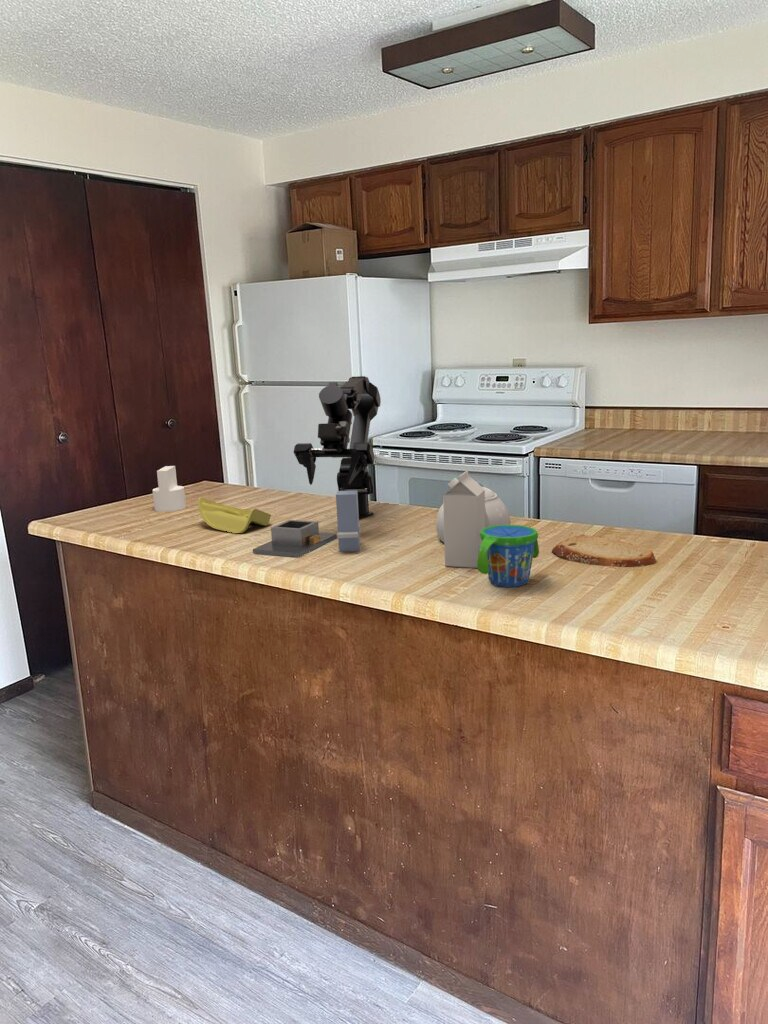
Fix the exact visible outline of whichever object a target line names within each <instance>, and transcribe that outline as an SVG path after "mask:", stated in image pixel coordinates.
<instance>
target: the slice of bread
mask: <svg viewBox="0 0 768 1024" xmlns="http://www.w3.org/2000/svg"><path fill="white" fill-rule="evenodd" d="M550 553H551V554H552V553H553V555H556V556H557V557H559V558H560V559H563V560H565V561H569V562H574V563H579V564H586V565H592V566H603V567H614V568H634V567H635V568H636V567H637V568H638V567H639V568H640V567H645V566H652V565H654V564H656V563H657V559H656V556H655V554H654V552H653V551H652V550H651V549H650V548H646V547H644V546H640V545H637V544H632V543H629V542H625V541H619V540H615V539H609V538H604V537H603V538H602V537H597V536H592V535H586V534H585V533H583V534H582V533H581V534H579V535H574V536H571V537H568V538H566V539H564V540H562V541H560V542H559V543H557V545H555V546H554V547H553V548H552V549H551V552H550Z"/></svg>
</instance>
